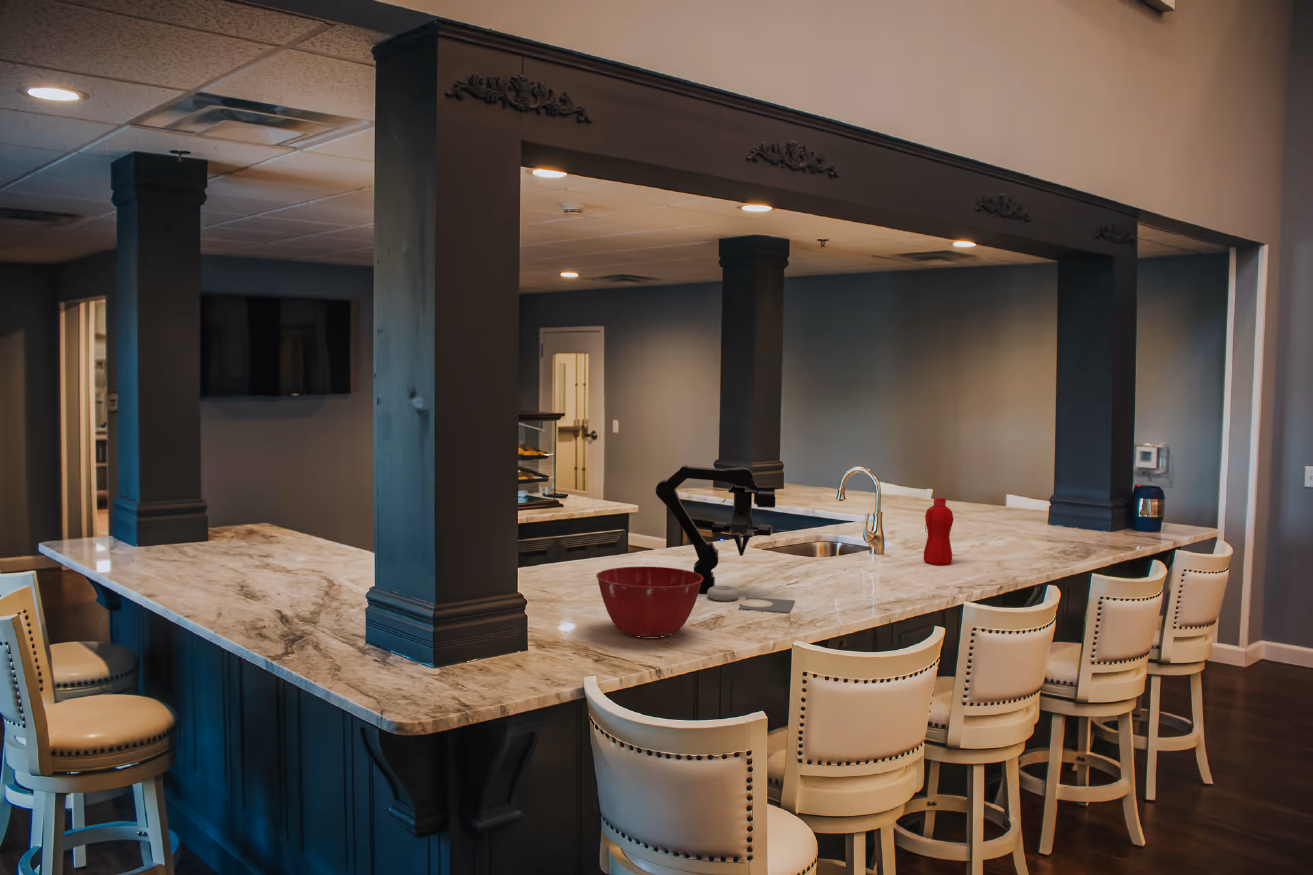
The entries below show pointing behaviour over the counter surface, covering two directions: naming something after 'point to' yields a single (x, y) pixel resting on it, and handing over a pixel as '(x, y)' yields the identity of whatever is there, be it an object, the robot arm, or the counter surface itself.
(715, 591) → the donut
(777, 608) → the kitchen scale
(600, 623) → the counter surface
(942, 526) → the water bottle
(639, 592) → the mixing bowl
